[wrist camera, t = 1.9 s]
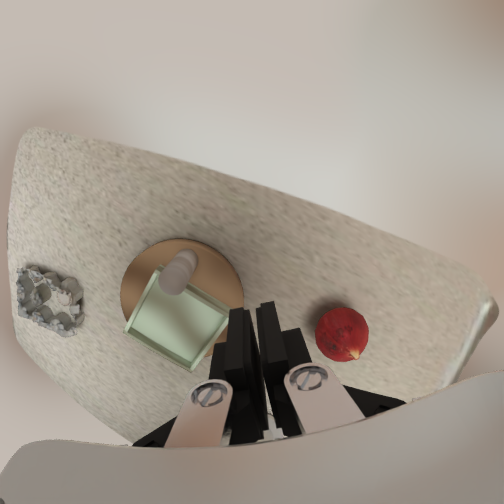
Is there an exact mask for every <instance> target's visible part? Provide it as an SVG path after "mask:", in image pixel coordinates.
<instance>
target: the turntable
mask: <svg viewBox="0 0 504 504" xmlns="http://www.w3.org/2000/svg"><path fill="white" fill-rule="evenodd" d="M120 298H121V306H122V310H123V313H124V316H125V318H126V320H127V322H128V323H127V325H126V327H125V329H124V331H123V333H124V334H126V335H127V336H129V337H130V338H132V339H134V340H135V341H137V342H138V343H140V344H142V345H143V346H145V347H146V348H148V349H150V350H151V351H153V352H155V353H157V354H158V355H160V356H162V357H163V358H165V359H167V360H169V361H170V362H172V363H174V364H176V365H178V366H180V367H181V368H183V369H185V370H187V371H189V372H191V373H192V371H193V370H194V369H195V367H196V366H197V365H198V363H199V362H200V361H201V359H202V358H203V357H207V356H210V355H212V354H213V349H214V344H215V343H220V342H226V339H227V329H228V319H229V310H230V309H235V308H240V307H243V308H244V295H243V288H242V285H241V281H240V279H239V277H238V275H237V273H236V271H235V269H234V268H233V266H232V265H231V264H230V263H229V261H228V260H227V259H226V258H225V257H224V256H223V255H222V254H220V253H219V252H217V251H216V250H215V249H213V248H211V247H209V246H208V245H205V244H203V243H200V242H197V241H193V240H188V239H171V240H166V241H162V242H159V243H157V244H155V245H153V246H151V247H149V248H148V249H146V250H145V251H144V252H142V253H141V254H140V255H139V256H137V257H136V258H135V259H134V260H133V261H132V263H131V264H130V265H129V267H128V268H127V270H126V272H125V274H124V277H123V280H122V284H121V291H120Z"/></svg>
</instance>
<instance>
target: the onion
mask: <svg viewBox="0 0 504 504" xmlns="http://www.w3.org/2000/svg"><path fill="white" fill-rule="evenodd" d="M368 334H369V330H368V326H367V323H366V321H365V319H364V317H363V316H362V315H361V314H359V313H358V312H356V311H355V310H353V309H350V308H345V307H343V308H335V309H333V310H331V311H329V312H326V313H325V314H324V315H323V316H322V317H321V318H320V320H319V322H318V324H317V327H316V329H315V337H316V345H317V346H318V348H319V349H320V351H321V352H322V353H323V354H324V355H325V356H326V357H328V358H330V359H331V360H334V361H337V362H347V361H350V360H353V359H354V360H357V359H359V355H360V354H361V353H362V352H363V350H364V349H365V347H366V345H367V342H368Z"/></svg>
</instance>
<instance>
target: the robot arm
mask: <svg viewBox="0 0 504 504" xmlns="http://www.w3.org/2000/svg"><path fill="white" fill-rule="evenodd" d="M260 305H261V307H259V308H256V317H257V328H258V339H259V349H260V353H259V349H258V345H257V341H256V336H255V332H254V328H253V323H252V319H251V315H250V311H249V310H244V308H243V307H240V308H235V309H230V310H229V319H228V329H227V339H226V342H220V343H215V344H214V349H213V355H212V361H211V367H210V374H209V380H206V381H203V382H200V383H198V384H197V385H195V386H194V387H192V388H191V389H190V390H189V392H188V393H187V395H186V398H185V400H184V402H183V404H182V407H181V409H180V411H179V414H178V416H176V417H175V418H173V419H172V420H170V421H168V422H167V423H165V424H164V425H162V426H161V427H159V428H157V429H156V430H154V431H153V432H151V433H149V434H148V435H146V436H144V437H143V438H141V439H139V440H138V441H137V442H135V443H134V444H133V445H132V446H128V445H109V444H99V443H89V442H80V441H73V440H43V441H36V442H32V443H29V444H26V445H24V446H22V447H21V448H20V449H19V450H18V451H17V452H16V453H15V454H14V455H13V456H12V458H11V459H10V460H9V462H8V463H7V465H6V466H5V467H4V469H3V471H2V472H1V474H0V504H504V370H499V371H494V372H488V373H483V374H480V375H477V376H473V377H470V378H467V379H465V380H463V381H460V382H457V383H454V384H452V385H450V386H447V387H445V388H443V389H441V390H438V391H436V392H434V393H431V394H429V395H426V396H423V397H419V398H414V399H412V401H411V402H409V403H406V402H404V401H402V400H399V399H396V398H392V397H388V396H383V395H379V394H375V393H371V392H367V391H363V390H360V389H356V388H352V387H348V386H345V385H342V384H341V383H340V381H339V380H338V378H337V377H336V375H335V374H334V373H333V371H332V370H331V369H330V368H329V367H328V366H326V365H324V364H321V363H312V360H311V358H310V355H309V352H308V349H307V347H306V344H305V341H304V338H303V335H302V333H301V330H300V328H296V329H291V330H286V331H282V332H281V329H280V325H279V321H278V317H277V312H276V308H275V304H274V301H271V302H266V303H261V304H260ZM264 380H265V384H266V388H267V392H268V396H269V400H270V404H271V408H272V412H273V416H274V417H273V416H271V415H269V414H267V404H266V394H265V384H264ZM284 436H288V437H287V438H284Z"/></svg>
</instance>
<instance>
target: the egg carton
mask: <svg viewBox="0 0 504 504" xmlns="http://www.w3.org/2000/svg"><path fill="white" fill-rule="evenodd" d="M17 273H18V280H17V282H16V285H17V286H18V289H17V301H18V302H19V305H18V315H19V316H21V317H24V318H27V319H31V320H33V322H37V323H38V325H39V326H42V327H45V328H47V329H49V330H52V331H54V332H56V333H57V334H59V335H60V336H62V337H71V336H74V335H77V330H76V329H75V328H76V327H77V325H78V324H80V323H81V322H82V321H83V320H84V312H82V311H81V310H80V309H79V304H78V305H77V301H78V300H79V299H80V298H82V297H83V289H82V288H81V287H79V285H78V284H77V282H76V279H74V278H71V277H69V278H66V279H65V280H64V281H63V282H61V281H60V280H59V279H58V277H57V275H56V272H47V273H46V274H44V275H42V274H41V273H40V271H39V267H38V266H35V265H33V266H32V267H31V268H29V269H25V267H23V268H21V269H17ZM28 273H29V274H30V276H31V278H32V279H33V281H34V283H37V282H39V281H41V280H43V281H44V283H43V284H41V285H39V286H37V287H36V288H35V286H34V283H33V281H32V280H31V279H30V278H29V277H28ZM48 285H49V287H50V288H51V289H53V291H56V290H57V292H58V293H57V298H58V300H59V302H60V303H61V304H62V305H64V306H67V305H69V304H70V301H71V304H70V308H69V310H70V313H71V315H72V316H73V318H74V319H75V320H76V321H77V323H76V324H75V323H73V322H72V320H71V318H70V316H69V315H68V314H66V313H65V312H61V313H60V314H59V315H57V316H54V315H53V312H52V310H51V309H50V308H49V307H48V306H46V305H44V306H42V307H41V308H40V309H37V308H36V307H37V306H39V305H42V304H43V303H44V302H46V301H47V300H49V299H50V297H51V290H50V288H49V287H48ZM31 293H32V294H31ZM30 294H31V298H30Z"/></svg>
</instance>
